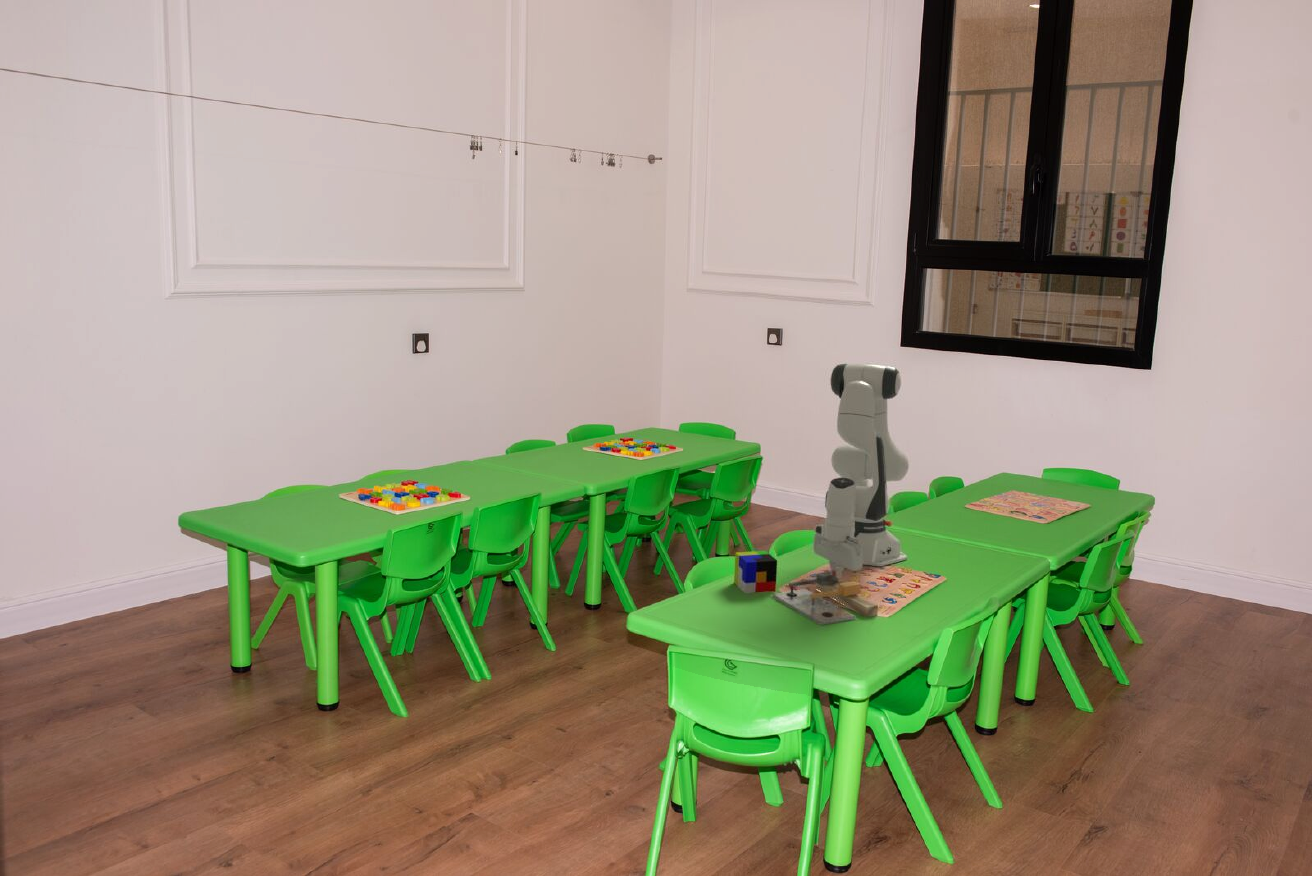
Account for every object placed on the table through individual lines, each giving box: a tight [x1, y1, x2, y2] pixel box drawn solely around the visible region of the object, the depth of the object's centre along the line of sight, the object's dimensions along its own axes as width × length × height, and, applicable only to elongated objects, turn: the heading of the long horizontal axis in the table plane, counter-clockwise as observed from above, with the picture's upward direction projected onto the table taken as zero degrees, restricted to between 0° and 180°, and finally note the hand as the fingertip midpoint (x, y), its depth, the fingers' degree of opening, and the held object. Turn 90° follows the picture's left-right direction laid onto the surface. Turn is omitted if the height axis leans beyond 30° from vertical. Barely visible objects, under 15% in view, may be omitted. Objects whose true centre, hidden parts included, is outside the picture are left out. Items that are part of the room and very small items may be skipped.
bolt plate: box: [772, 588, 856, 626], centre depth 308 cm, size 12×25×1 cm, turn 27°
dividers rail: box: [788, 571, 879, 618], centre depth 310 cm, size 17×25×6 cm
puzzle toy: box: [733, 550, 778, 594], centre depth 324 cm, size 10×10×10 cm
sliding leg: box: [810, 580, 862, 605], centre depth 309 cm, size 17×3×5 cm, turn 117°
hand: (836, 576), depth 316 cm, fingers closed
